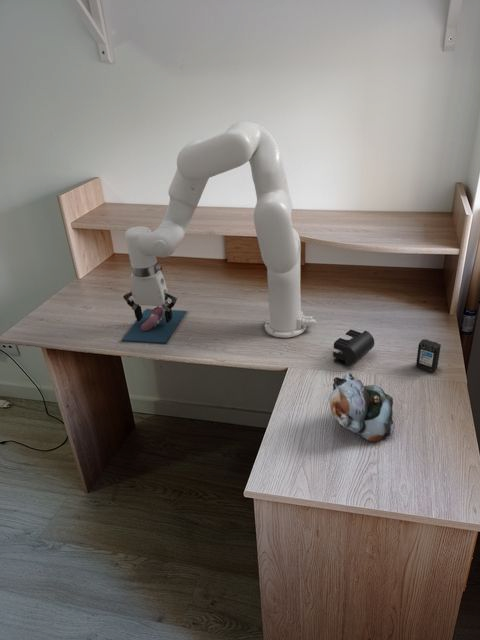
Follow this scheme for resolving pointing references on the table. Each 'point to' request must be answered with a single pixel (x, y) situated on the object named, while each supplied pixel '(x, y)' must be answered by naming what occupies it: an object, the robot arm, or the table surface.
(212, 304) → the table surface
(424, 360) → the ink cartridge
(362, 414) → the lucky cat figurine
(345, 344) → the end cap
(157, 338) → the rubber mat
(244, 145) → the robot arm
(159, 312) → the video game controller
